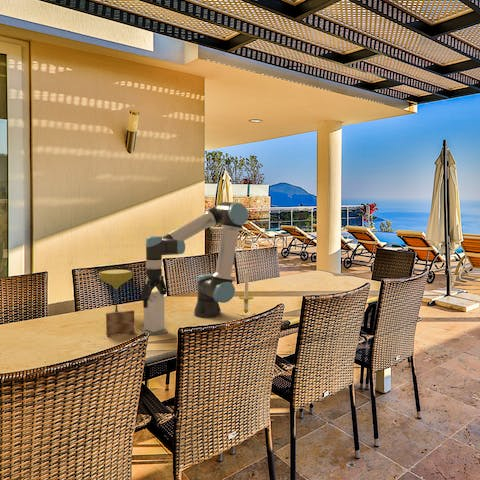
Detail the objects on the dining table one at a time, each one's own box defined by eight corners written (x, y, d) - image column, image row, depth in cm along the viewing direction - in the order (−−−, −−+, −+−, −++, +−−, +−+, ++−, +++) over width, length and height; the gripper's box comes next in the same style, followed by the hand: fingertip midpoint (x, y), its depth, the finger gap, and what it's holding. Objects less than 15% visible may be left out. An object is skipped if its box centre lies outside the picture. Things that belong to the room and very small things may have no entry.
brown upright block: (133, 330, 207) (133, 309, 206) (135, 334, 202) (135, 311, 201) (105, 334, 201) (105, 311, 200) (107, 337, 197) (106, 314, 196)
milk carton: (143, 329, 206) (143, 292, 204) (154, 326, 212) (154, 289, 210) (153, 332, 202) (153, 294, 200) (164, 329, 208) (164, 291, 206)
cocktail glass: (118, 308, 247) (118, 266, 244) (139, 314, 237) (139, 270, 234) (92, 315, 232) (91, 271, 229) (114, 321, 222) (113, 275, 219)
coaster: (162, 326, 214) (162, 325, 214) (167, 333, 204) (167, 331, 204) (140, 329, 210) (140, 327, 210) (145, 335, 200) (145, 334, 200)
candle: (255, 311, 246) (256, 266, 243) (253, 316, 236) (254, 269, 233) (238, 311, 247) (239, 265, 244) (236, 315, 237) (237, 268, 234)
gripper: (160, 263, 217) (160, 303, 219) (132, 271, 193) (132, 316, 196) (173, 264, 214) (173, 305, 216) (146, 272, 191) (146, 317, 193)
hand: (154, 310), depth 206 cm, fingers open, 13 cm apart
